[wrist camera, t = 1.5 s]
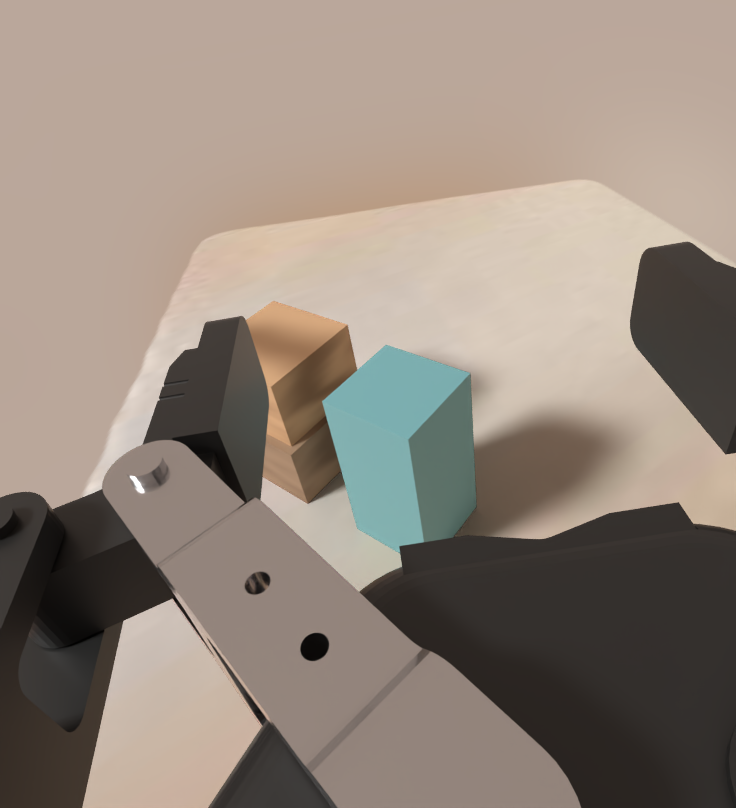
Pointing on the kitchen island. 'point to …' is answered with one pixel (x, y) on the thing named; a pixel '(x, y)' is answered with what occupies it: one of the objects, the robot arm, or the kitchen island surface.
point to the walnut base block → (302, 462)
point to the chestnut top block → (299, 365)
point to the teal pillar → (405, 447)
